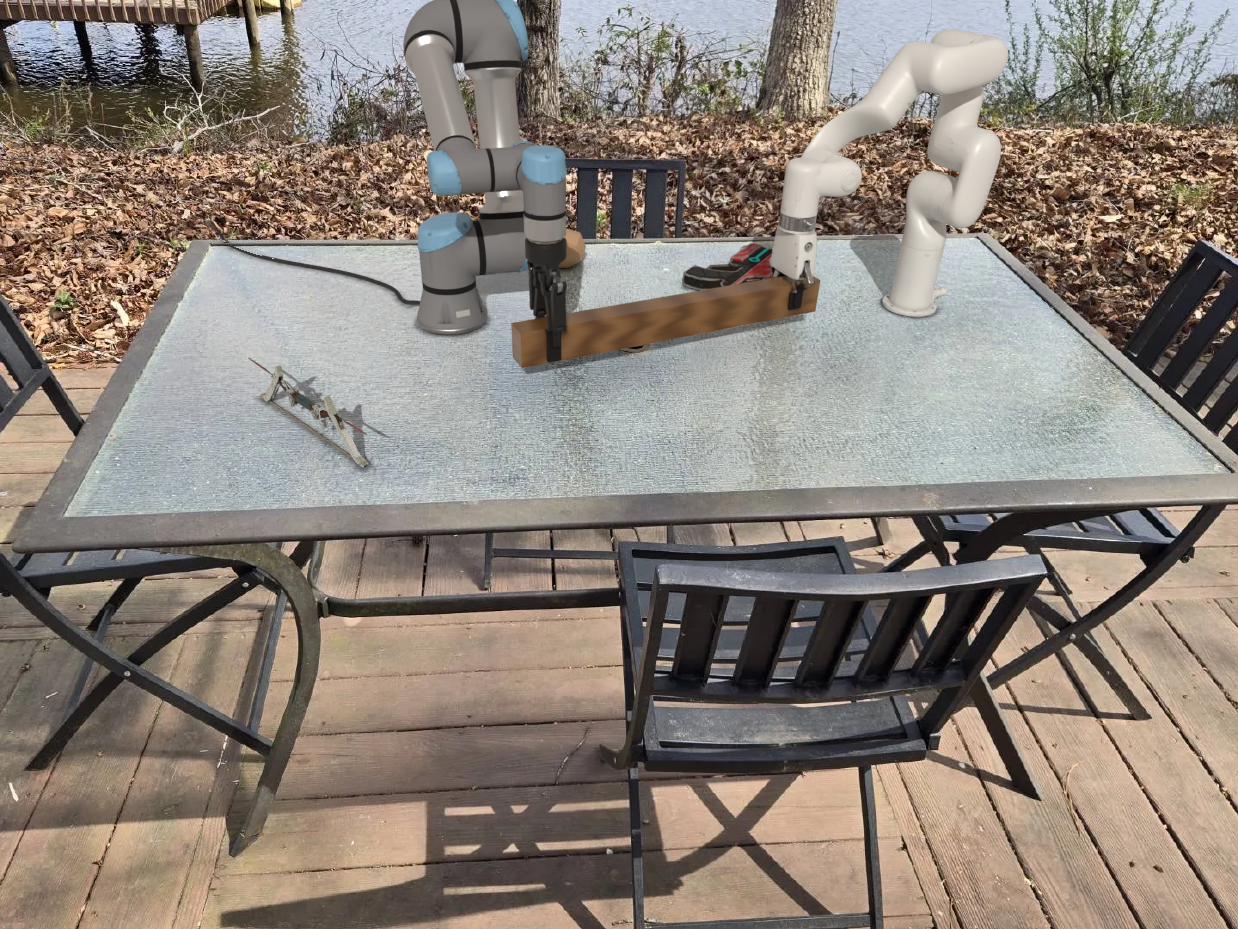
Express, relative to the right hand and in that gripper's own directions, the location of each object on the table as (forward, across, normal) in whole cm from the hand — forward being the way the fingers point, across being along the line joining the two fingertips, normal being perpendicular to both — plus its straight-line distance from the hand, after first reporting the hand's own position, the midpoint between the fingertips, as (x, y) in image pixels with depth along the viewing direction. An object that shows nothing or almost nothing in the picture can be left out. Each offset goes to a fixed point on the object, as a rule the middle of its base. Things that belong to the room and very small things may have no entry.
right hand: (786, 302), depth 191 cm
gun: (+8, +32, -9) cm, 34 cm away
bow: (+8, 0, +102) cm, 102 cm away
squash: (+8, +60, +32) cm, 68 cm away
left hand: (+1, 0, +56) cm, 56 cm away
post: (+2, 0, +28) cm, 28 cm away
